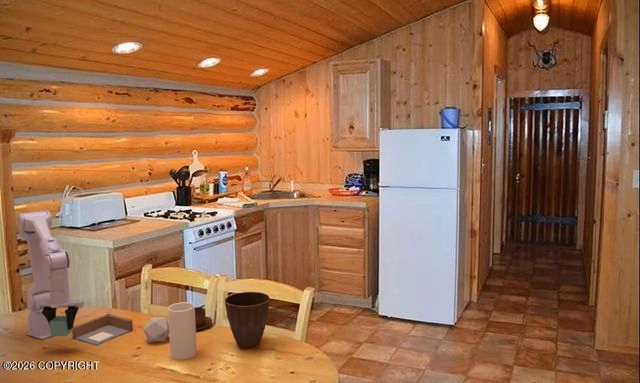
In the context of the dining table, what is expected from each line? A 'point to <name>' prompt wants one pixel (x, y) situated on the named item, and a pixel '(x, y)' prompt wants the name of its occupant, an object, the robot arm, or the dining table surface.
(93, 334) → the tray
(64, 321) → the teal cube
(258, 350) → the dining table surface
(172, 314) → the cup
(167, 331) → the die
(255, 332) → the plant pot
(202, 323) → the cup and saucer
